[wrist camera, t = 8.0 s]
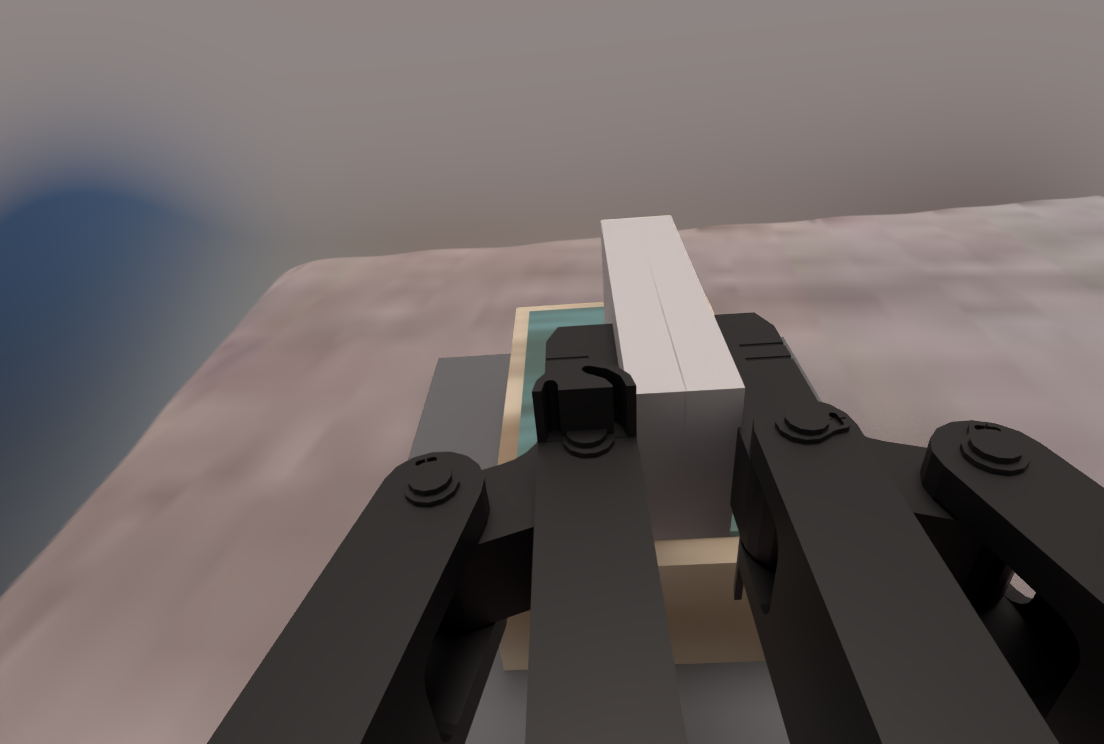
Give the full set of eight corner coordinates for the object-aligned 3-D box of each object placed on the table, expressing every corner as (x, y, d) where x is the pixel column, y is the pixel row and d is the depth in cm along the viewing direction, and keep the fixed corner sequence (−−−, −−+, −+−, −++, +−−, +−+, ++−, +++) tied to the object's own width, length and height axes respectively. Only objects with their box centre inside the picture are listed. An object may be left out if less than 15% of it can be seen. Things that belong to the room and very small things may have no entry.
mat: (1094, 904, 13) (1110, 888, 13) (285, 918, 14) (274, 904, 14) (781, 351, 32) (783, 337, 31) (441, 371, 32) (438, 358, 32)
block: (822, 553, 15) (706, 291, 27) (483, 568, 15) (516, 303, 27) (798, 659, 17) (701, 374, 29) (503, 670, 18) (526, 385, 29)
